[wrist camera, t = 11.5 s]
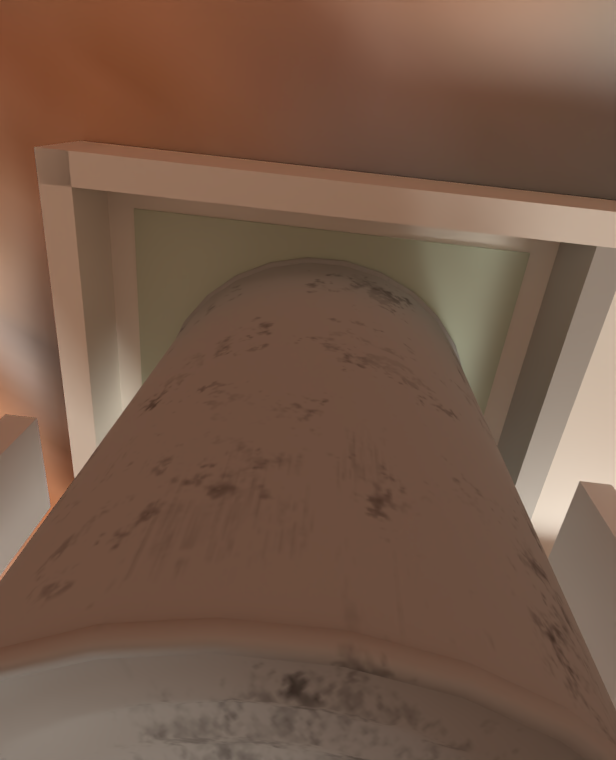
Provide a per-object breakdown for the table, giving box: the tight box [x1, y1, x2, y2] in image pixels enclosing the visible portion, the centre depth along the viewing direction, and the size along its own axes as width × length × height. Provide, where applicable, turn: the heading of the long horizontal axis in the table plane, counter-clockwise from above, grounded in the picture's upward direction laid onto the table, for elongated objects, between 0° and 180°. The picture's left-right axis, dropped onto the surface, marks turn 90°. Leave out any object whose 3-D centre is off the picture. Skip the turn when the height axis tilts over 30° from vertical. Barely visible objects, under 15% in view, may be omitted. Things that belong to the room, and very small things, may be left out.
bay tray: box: [34, 141, 616, 558], centre depth 17 cm, size 27×14×2 cm, turn 84°
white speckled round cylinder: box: [0, 257, 616, 760], centre depth 12 cm, size 10×10×12 cm
